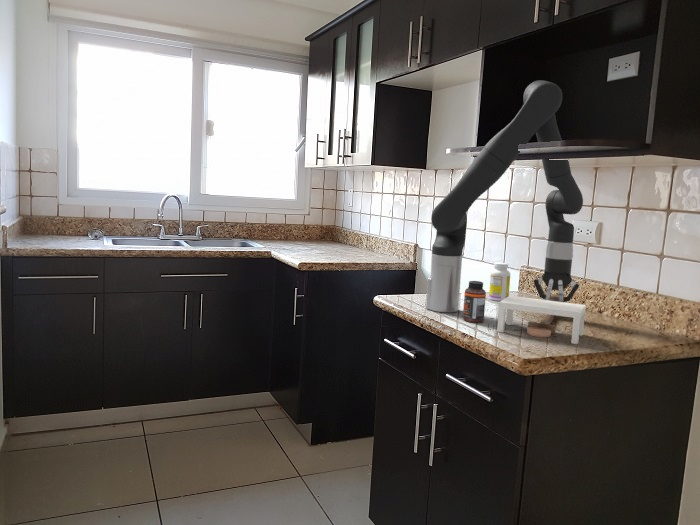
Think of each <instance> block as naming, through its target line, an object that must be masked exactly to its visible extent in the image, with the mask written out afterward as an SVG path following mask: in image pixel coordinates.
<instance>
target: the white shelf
mask: <svg viewBox="0 0 700 525" xmlns="http://www.w3.org/2000/svg"><path fill="white" fill-rule="evenodd" d="M514 311H519V312H520V311H521V312H529V313H536V314H545V315H547V314H549V315H557V316H558V317H564V318H565V317H566V318H573V319H572V320H573V321H572V330H571V342H570V343H571V344H572V345H573V344H574V345H578V344H579V338H580V336H581V337H582V336H583V335H584V324H585V316H586V304H579V303H572V302H556V301H548V300H545V299H541V298H538V299H537V298H533V297H532V298H531V297H522V296H517V295H509V296H508V297H507V298H505V299H503V300H502V301H498V313H497V317H498V318H497V326H496V328H497V329H496V332H497V333H504V332H505V325H509V326H512V325H513V323H514V322H513V321H514Z"/></svg>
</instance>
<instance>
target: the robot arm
mask: <svg viewBox="0 0 700 525" xmlns="http://www.w3.org/2000/svg"><path fill="white" fill-rule="evenodd" d="M522 98H523V99H522V100H523V104H522V106H521V108H520V109H519V111H518V112H517V114H516V115H515V117H514V118H513V119H512V120H511V121H510V122H509V123H508V124H507V125H506V126H505V127H504V128H502V129H501V130H500V131H498V132H497V133H496V134H495V135H494V136H493V137H492V138H491V139H490V140H489V141H488V142H487V143H486V144H485V145H484V147H483V148H482V149H481V151H480V152H479V153H478V155H477V156H475V158H474V159H473V161H472V162H471V164H469V166H468V168H467V169H466V170H465V172H464V173H463V175H462V176H461V178H460V179H459V180H458V182H457V183H456V185H455V186H454V187H453V188H452V189H451V191H449V192H448V194H447V195H445V197H444V198H443V199H442V200H441V201H440V202H439V203H438V204H437V205H436V206H435V207H434V208H433V211H432V213H431V218H430V220H431V224H432V226H433V228H434V229H435V230H436V233H435V234H436V235H435V240H434V242H433V244H432V247H431V263H430V277H428V278H427V289H426V303H425V304H426V306H425V308H426V310H430V311H433V312H440V313H457V312H458V311H459V306H460V293H461V292H460V290H461V278H462V277H461V275H462V262H463V253H464V252H463V250H464V248H465V242H466V235H467V225H468V224H467V223H468V221H467V220H468V216H467V212H468V211H469V210H470V208H471V207H472V205H473V204H474V202H476V201H477V199H479V198H480V197H481V196H482V195H483V194H484V193H485V192H487V191H488V190H489V189H490V188H491V187H492V186H493V185H494V184H496V183H497V182H498V180H500V179H501V177H502V176H503V175H504V174H505V173H506V171H508V169H509V168H510V166H511V165H512V164H513V163H514V161H515V160H516V158H517V157H518V156H519V155H520V153H521V152H520V151H518V145H519V144H526V145H527V144H528V143H529V141H531V139H532V138H533V137H534V136H535V135H536V138H537V143H538V142H550V141H561V140H562V141H563V139H562V137H561V134H560V130H559V127H558V124H557V119H556V113H557V111H558V110H559V108H560V107H561V105H562V102H563V92H562V89H561V88H560V87H559V85H557V84H556V83H554V82H551V81H547V80H541V79H540V80H539V79H538V80H534V81H533V82H532V83H530V84H529V85H527V87H526V88H525V90H524V92H523V97H522ZM568 160H569V159H568ZM568 160H549V159H542V158H541V162H542V165H543V166H542V167H543V172H544V176H545V181H546V182H547V184H548V185H549V186H551V187H555V188H556V189H555V190H552V191H550V192H549V193H548V194H547V197H546V199H545V212H546V217H547V224H548V238H547V244H546V248H545V250H546V251H545V258H544V259H545V261H544V270H543V271H544V272H543V275H541V277H538V278H535V279H534V280H533V284H534V286H535V289H536V291H537V294H538V296H539V299H542V300H548V301H549V298H550V297H551V296H552V295H553V291H557V292H558V295H559V302H564V303H566V302H570V301H571V299H572V298H573V297H574V295H575V293H576V292H577V290H578V289H579V287H580V286H581V284H580V283H579V282H575V281H574V280H573V278H572V275H571V274H572V266H573V265H572V264H573V258H574V245H573V244H574V235H575V226H574V224H572V223H571V222H568V221H566V220H565V217H564V215H577V214H578V213H579V212H580V211H581V210H582V208H583V206H584V198H583V194H582V191H581V189H580V188H579V186H578V184H577V182H576V180H575V178H574V177H573V175H572V170H571V167H570V160H569V161H568ZM543 283H544V284H545V286H546V288H547V289H546V293H545V291H544V289H543V287H542V285H543ZM569 285H570V289H571V290H570V292H569V293H568V294H567V296H565V289H566V288H567V287H568V286H569Z"/></svg>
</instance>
